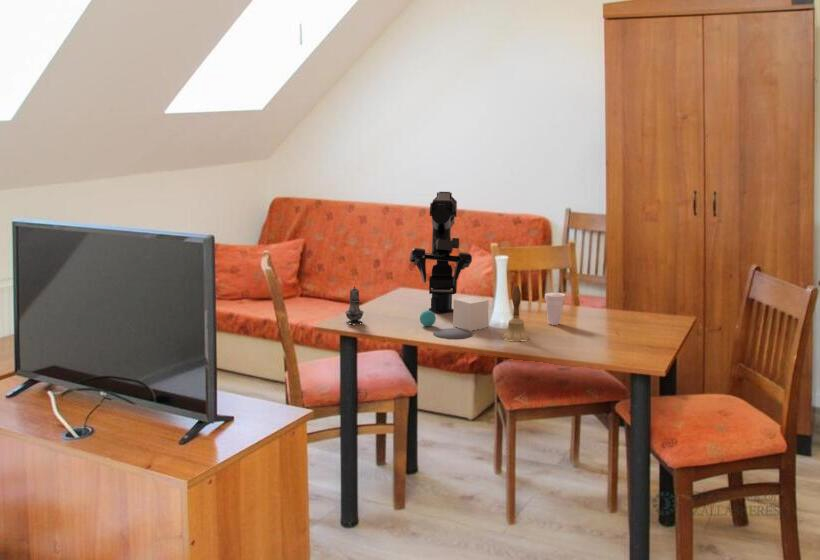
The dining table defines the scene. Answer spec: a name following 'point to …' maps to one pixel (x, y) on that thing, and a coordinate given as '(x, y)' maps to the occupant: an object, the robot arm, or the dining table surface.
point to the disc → (452, 333)
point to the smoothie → (554, 306)
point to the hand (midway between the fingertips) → (439, 283)
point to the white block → (470, 313)
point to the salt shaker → (354, 308)
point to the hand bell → (516, 320)
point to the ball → (427, 318)
